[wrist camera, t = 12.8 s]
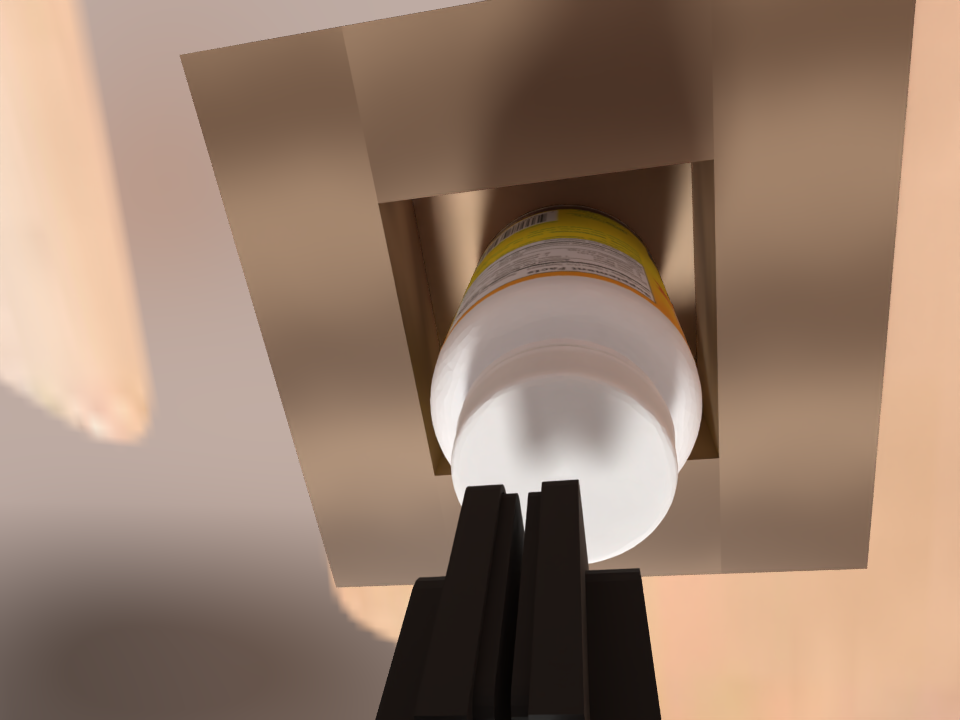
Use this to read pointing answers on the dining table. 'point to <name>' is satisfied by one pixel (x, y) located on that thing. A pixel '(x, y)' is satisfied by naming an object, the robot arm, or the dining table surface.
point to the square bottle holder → (561, 155)
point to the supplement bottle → (570, 374)
